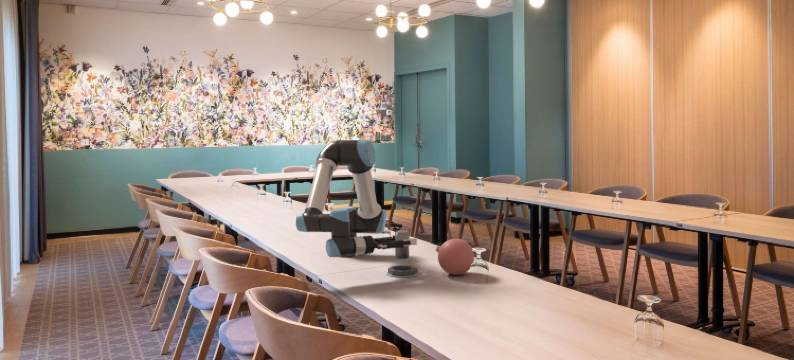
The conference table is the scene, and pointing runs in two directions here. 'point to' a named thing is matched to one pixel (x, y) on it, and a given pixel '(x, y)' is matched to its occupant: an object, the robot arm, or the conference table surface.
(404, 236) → the cylinder
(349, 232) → the robot arm
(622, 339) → the conference table surface
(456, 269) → the terracotta rubber ball
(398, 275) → the ring plate
